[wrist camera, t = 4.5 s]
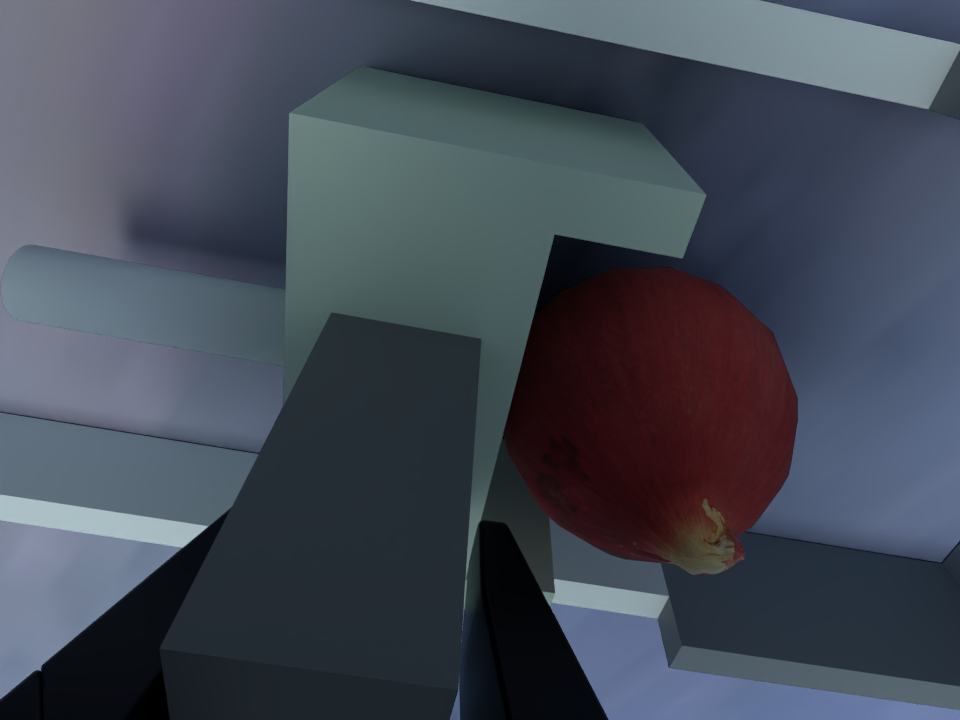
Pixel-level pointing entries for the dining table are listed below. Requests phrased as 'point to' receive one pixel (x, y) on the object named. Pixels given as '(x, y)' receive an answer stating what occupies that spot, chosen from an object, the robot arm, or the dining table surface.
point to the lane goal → (576, 564)
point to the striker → (375, 382)
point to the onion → (653, 417)
